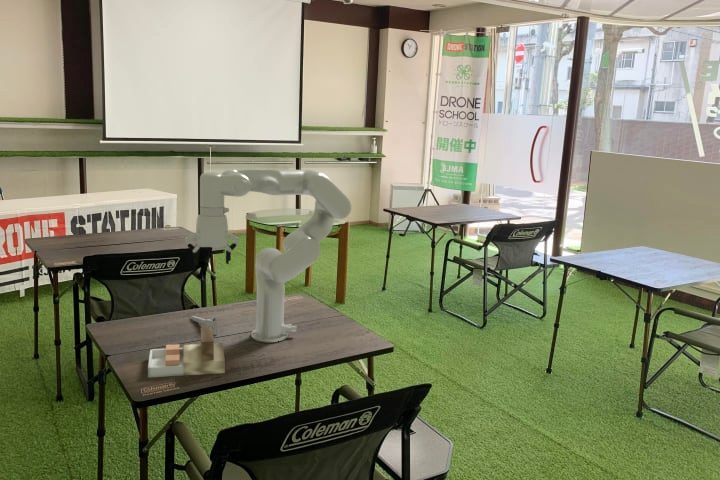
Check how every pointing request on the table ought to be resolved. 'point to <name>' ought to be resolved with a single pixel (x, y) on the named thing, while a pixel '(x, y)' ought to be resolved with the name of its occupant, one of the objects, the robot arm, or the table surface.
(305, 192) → the robot arm
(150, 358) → the tray
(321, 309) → the table surface
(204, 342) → the brown tapered block
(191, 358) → the beige flat block
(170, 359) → the tan wooden cube
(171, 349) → the pink cube
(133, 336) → the table surface
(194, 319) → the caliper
